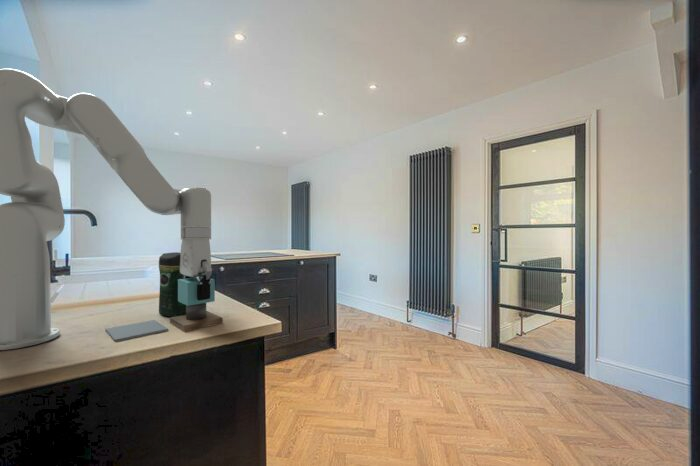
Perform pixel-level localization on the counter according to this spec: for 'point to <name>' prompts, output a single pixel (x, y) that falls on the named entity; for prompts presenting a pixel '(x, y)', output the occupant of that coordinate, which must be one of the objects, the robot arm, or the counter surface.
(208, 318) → the peg stand
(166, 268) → the coffee jar
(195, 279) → the teal boxy piece
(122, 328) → the mat
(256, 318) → the counter surface
